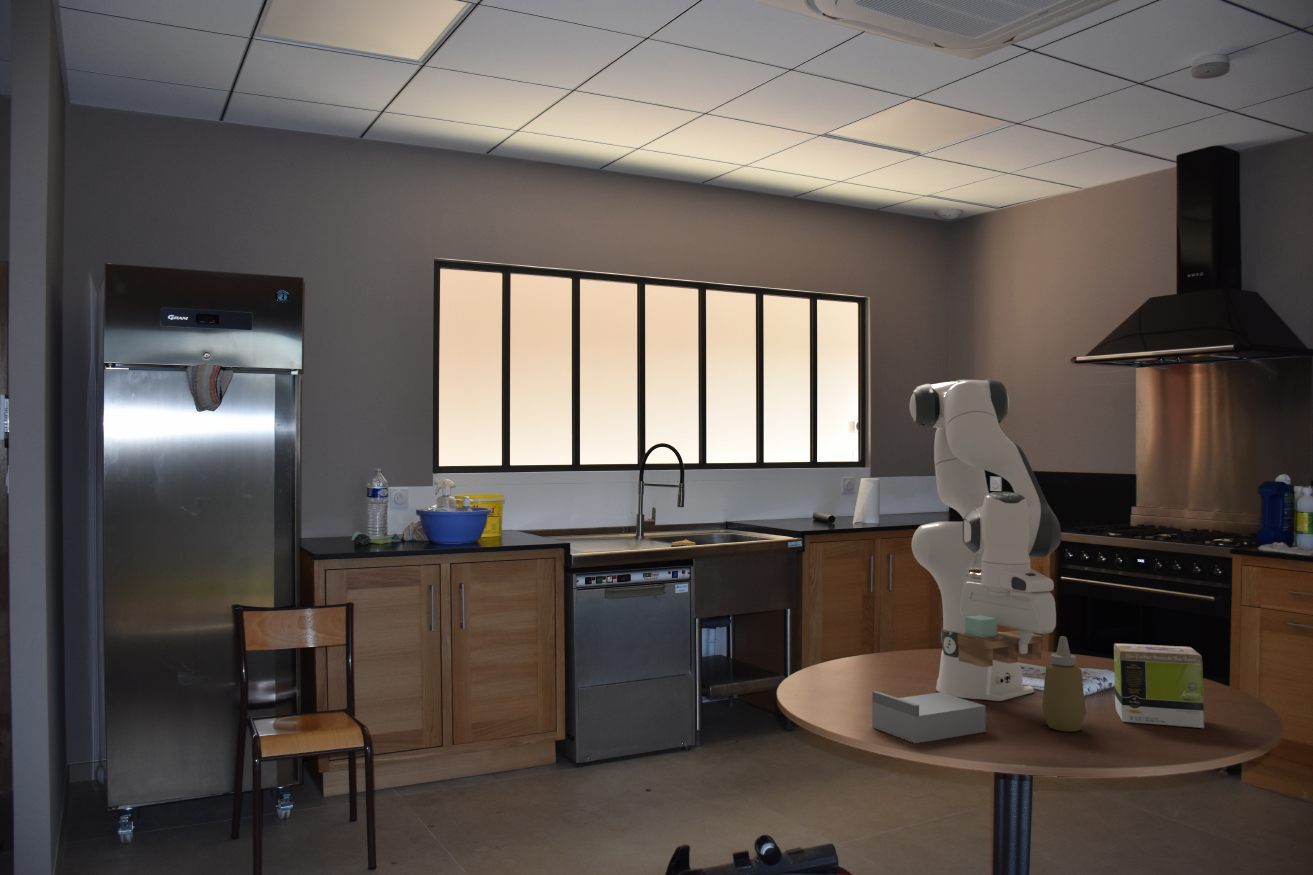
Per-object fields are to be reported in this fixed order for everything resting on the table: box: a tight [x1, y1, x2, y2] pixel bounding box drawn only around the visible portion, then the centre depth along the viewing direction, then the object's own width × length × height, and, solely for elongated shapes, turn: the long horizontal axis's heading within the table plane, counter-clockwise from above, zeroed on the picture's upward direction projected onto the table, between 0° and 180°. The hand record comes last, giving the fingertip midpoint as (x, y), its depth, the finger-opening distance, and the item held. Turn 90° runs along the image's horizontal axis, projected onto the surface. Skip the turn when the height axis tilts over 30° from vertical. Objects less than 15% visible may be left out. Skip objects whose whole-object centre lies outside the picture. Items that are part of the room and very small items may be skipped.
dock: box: [871, 690, 987, 744], centre depth 184 cm, size 18×12×7 cm, turn 117°
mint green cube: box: [965, 615, 998, 638], centre depth 176 cm, size 4×4×4 cm
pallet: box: [958, 629, 1043, 667], centre depth 178 cm, size 16×6×5 cm, turn 118°
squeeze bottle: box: [1041, 636, 1087, 732], centre depth 185 cm, size 8×8×18 cm
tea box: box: [1113, 642, 1205, 729], centre depth 192 cm, size 15×10×15 cm, turn 71°
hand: (1005, 649), depth 179 cm, fingers closed on pallet, 6 cm apart
